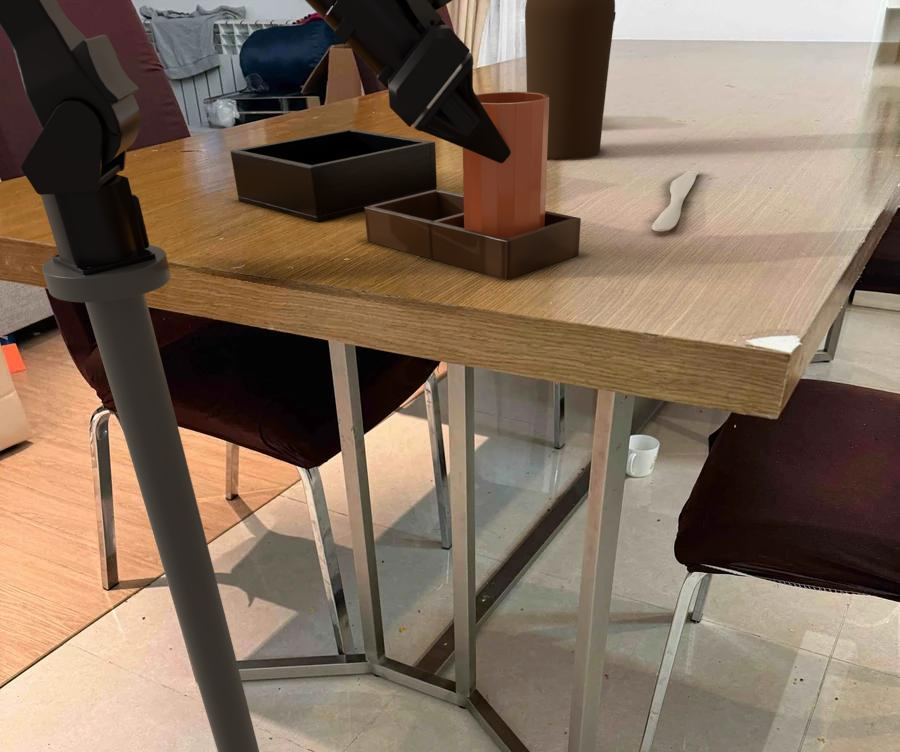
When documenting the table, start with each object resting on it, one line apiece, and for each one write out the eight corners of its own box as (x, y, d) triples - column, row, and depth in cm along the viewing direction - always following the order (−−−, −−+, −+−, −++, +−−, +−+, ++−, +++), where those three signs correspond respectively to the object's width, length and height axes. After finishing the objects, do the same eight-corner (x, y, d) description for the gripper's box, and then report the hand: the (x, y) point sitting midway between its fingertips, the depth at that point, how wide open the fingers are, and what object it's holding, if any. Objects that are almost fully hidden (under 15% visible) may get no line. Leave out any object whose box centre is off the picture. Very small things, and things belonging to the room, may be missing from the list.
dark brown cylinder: (558, 164, 103) (569, -100, 88) (506, 152, 110) (508, -94, 95) (621, 152, 108) (643, -101, 93) (567, 142, 115) (579, -95, 100)
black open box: (317, 222, 85) (310, 167, 81) (238, 201, 93) (229, 150, 90) (437, 192, 93) (435, 141, 90) (355, 175, 102) (351, 128, 99)
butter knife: (640, 226, 77) (673, 225, 76) (678, 169, 97) (705, 169, 96) (640, 233, 77) (673, 232, 76) (678, 175, 97) (705, 174, 96)
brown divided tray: (506, 280, 68) (506, 241, 66) (367, 241, 78) (363, 206, 76) (578, 254, 73) (581, 217, 71) (438, 221, 83) (437, 188, 81)
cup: (505, 273, 69) (507, 106, 62) (448, 258, 73) (443, 99, 66) (559, 255, 73) (566, 95, 66) (502, 241, 77) (503, 89, 69)
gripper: (428, -134, 50) (598, 74, 57) (417, -114, 65) (553, 49, 72) (314, 31, 55) (485, 205, 62) (328, 15, 69) (464, 156, 76)
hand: (499, 147), depth 68 cm, fingers open, 9 cm apart
